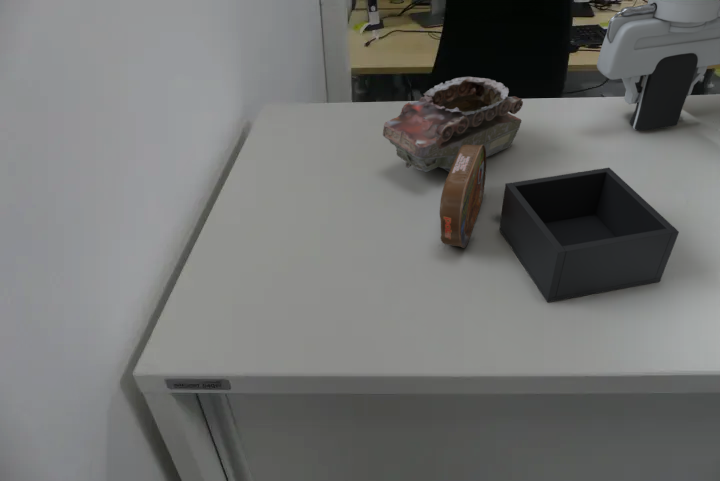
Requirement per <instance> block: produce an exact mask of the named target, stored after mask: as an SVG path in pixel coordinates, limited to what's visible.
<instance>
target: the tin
mask: <svg viewBox="0 0 720 481" xmlns="http://www.w3.org/2000/svg"><path fill="white" fill-rule="evenodd" d="M486 171H487V157H486V148H485V146H484V145H463V146H462V147H461V148H460V149H459V152H458V154H457V156H456V158H455V160H454V163H453V165H452V167H451V169H450V172H448V174H447V177H446V179H445V181H444V184H443V188H442V192H441V197H440V203H439V219H440V241H441V243H442V244H444V245H448V246H454V247H461V248H466V247H467V246H468V243H469V241H470V238H471V236H472V233H473V229H474V226H475V224H476V220H477V218H478V215H479V211H480V209H481V206H482V201H483V197H484V190H485V184H486V173H487V172H486Z"/></svg>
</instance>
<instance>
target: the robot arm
mask: <svg viewBox="0 0 720 481" xmlns="http://www.w3.org/2000/svg"><path fill="white" fill-rule="evenodd" d="M687 53H694V54H696V55H697V57H698V63H697V67H696V70H695V74H694V77H693V80H692V83H691V86H690V89H689V92H688V94H687V96H690V95H691V94H692V92H693V89H694V86H695V85H696V84H697V83H698V82H699V80H700V79H702V77H704V75H705V74H706V72H707V69H708V67H710V66H716V65H720V0H647V4H641V5H637V6H625V7H622V8H621V9H620V10H619V11H618V12H616V13H615V14H614V15H613V16H612V17H611V18H610V19H609V21H608V23H607V29H606V34H605V36H604V38H603V42H602V45H601V47H600V51H599V53H598V57H597V62H596V68H597V70H598V71H599V73H600V74H601V75H603V76H604V77H605V78H607V79H609V80H611V81H613V80H621V81H622V84H623V86H624V88H625V94H624V97H623V99H624V100H623V101H624V102H625V103H626V104H628V105H633V104H634V105H635V104H637V103H639V102H640V98H641V94H642V92H641V91H640V90H639V88H637V85H636V83H637V82H639V80H640V76H642V75H649V74H652V73H653V71H654V70H655V68H656V65H657V64H658V62H659V61H660V60H661V59H663V58H665V57H668V56H674V55H679V54H687Z"/></svg>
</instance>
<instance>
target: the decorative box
mask: <svg viewBox="0 0 720 481" xmlns="http://www.w3.org/2000/svg"><path fill="white" fill-rule="evenodd" d="M433 86H434V87H431V88H429V90H426V91H425V92H424V93H423V95H424V96H422V97H420V98H419V99H418V100H417V101H415V102H412V101H411V102H407V103H405V104H403V106H402V108H401V111H400V114H399V115H398V116H397V117H393V118H391V119H390V120H387V121H385V122H384V123H383V131H382V136H383V137H384V138H385V139H387V140H388V141H389V143H390V144H391V145H393V146H394V147H395V151H396V156H397V157H399V158H400V159H402V160H403V161H405V168H406V169H410V167H413V168H415V169H416V170H418V171H420V172H421V171H422V172H424V173H425V172H426V173H427V172H429V171H433V170H434V169H436V168H440V169H443V170H445V171H446V172H448V173H449V172H450V169H451V167H452V165H453V163H454V160H455V158H456V156H457V154H458V152H459V149H460V148H461V147H462V146H463V145H484V146H485V148H486V158H488V157H490V156H492V155H494V154H497V153H499V152H501V151H503V150H505V149H507V148H510V147H511V146H512V144H513V142H514V140H515V137H517V134H518V132H519V129H520V128H521V124H522V119H521V118H519V117H517V116H515V115H516V114H517V113H518V112H520V110H521V109H522V108H523V105H524V101H522V100H523V99H522V98H519V97H517V96H515V95H514V96H508V95H509V92H510V91H509V90H510V89H509V88H508V86H505V85H504V83H502V82H498V81H496V79H495V80H494V79H491V78H485V77H476V76H475V77H474V76H461V77H455V78H453V79H451V80H446V81H445V82H444V83H443V82H440V83H439V84H437V85H433Z"/></svg>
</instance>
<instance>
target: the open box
mask: <svg viewBox="0 0 720 481" xmlns="http://www.w3.org/2000/svg"><path fill="white" fill-rule="evenodd" d="M499 232H500V233H501V235H502V236H503V238H504V239H505V241H506V242H507V244H508V245H509V247H510V248H511V250H512V251H513V253H514V255H515V256H516V258H517V259H518V260H519V262H520V263H521V265H522V267H523V268H524V269H525V271H526V272H527V274H528V275H529V277H530V279H531V280H532V282H533V283H534V284H535V286H536V287H537V290H539V292H540V293H541V295H542V297H543V298H544V300H545V301H546V302H547V303H552V302H557V301H561V300H568V299H572V298H579V297H584V296H590V295H594V294H600V293H605V292H611V291H616V290H621V289H627V288H633V287H638V286H644V285H648V284H654V283H655V284H656V283H659V282H661V280H662V278H663V275H664V272H665V270H666V267H667V264H668V261H669V259H670V258H671V254H672V251H673V248H674V246H675V243H676V241H677V238H678V235H679V233H680V231H679V230H678V229H677V228H676V227H675V226H674V225H672V224H671V223H670V222H669V221H668V220H667V219H666V218H665V217H664V216H662V215H661V213H659V212H658V210H656V209H655V208H654V207H653V206H652V205H651V204H650V203H648V201H646V199H644V198H643V197H642V196H641V195H640V194H639V193H637V191H636V190H634V189H633V188H632V187H631V186H630V185H629V184H628V183H627V182H626V181H625V180H623V178H621V177H620V176H619V175H618V174H617V173H616V172H615V171H614V170H613V169H612V168H610V167H603V168H598V169H591V170H584V171H578V172H572V173H566V174H559V175H553V176H545V177H539V178H533V179H527V180H520V181H513V182H506V183H505V185H504V193H503V199H502V207H501V215H500V223H499Z"/></svg>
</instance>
